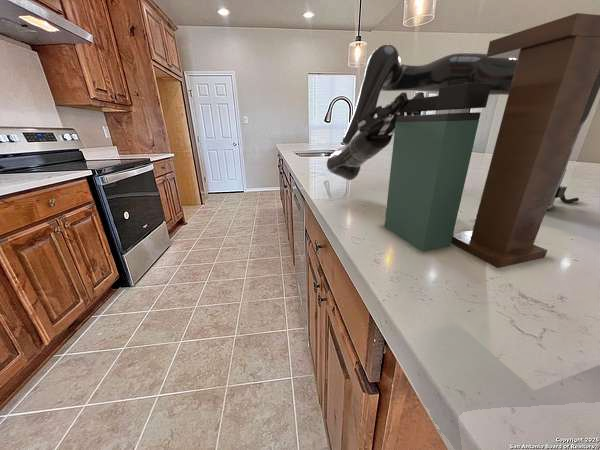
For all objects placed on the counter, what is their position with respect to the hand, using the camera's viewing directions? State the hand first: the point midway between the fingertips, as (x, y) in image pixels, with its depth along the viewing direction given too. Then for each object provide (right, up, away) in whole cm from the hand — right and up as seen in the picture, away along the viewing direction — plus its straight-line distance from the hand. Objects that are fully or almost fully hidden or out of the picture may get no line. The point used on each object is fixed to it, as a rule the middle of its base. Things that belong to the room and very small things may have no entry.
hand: (414, 97), depth 44 cm
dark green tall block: (+2, -26, +5) cm, 26 cm away
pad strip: (+1, -4, -3) cm, 5 cm away
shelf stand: (+13, -27, 0) cm, 30 cm away
